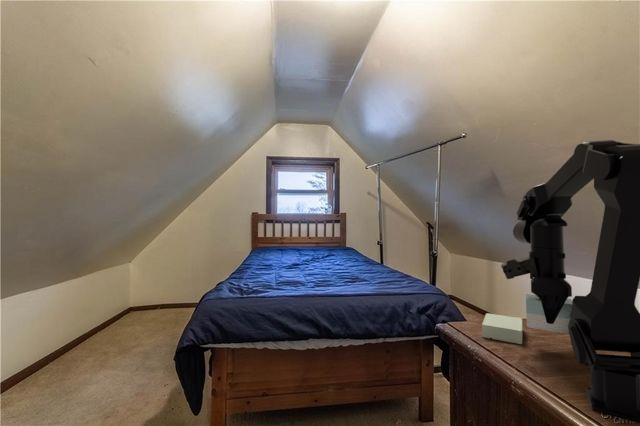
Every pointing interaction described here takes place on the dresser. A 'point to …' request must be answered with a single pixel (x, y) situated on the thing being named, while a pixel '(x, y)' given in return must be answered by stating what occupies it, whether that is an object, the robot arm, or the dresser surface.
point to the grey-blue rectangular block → (538, 317)
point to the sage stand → (502, 328)
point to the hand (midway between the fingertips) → (549, 319)
